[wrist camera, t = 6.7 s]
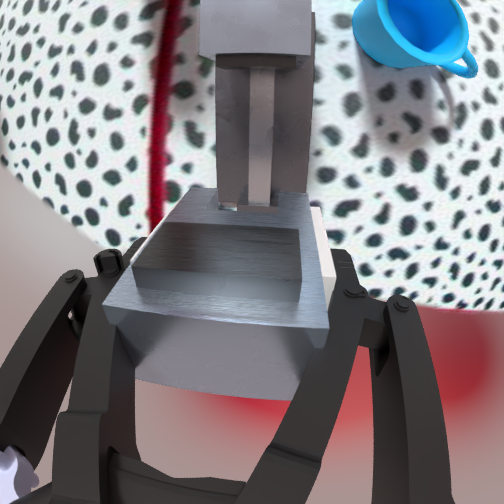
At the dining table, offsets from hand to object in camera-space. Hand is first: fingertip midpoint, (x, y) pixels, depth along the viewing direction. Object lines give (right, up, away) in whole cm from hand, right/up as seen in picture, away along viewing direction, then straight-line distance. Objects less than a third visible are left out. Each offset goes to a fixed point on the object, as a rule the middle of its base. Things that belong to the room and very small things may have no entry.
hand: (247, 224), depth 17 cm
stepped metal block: (0, 0, 0) cm, 0 cm away
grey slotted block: (+1, +12, +8) cm, 15 cm away
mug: (+15, +19, +3) cm, 25 cm away
